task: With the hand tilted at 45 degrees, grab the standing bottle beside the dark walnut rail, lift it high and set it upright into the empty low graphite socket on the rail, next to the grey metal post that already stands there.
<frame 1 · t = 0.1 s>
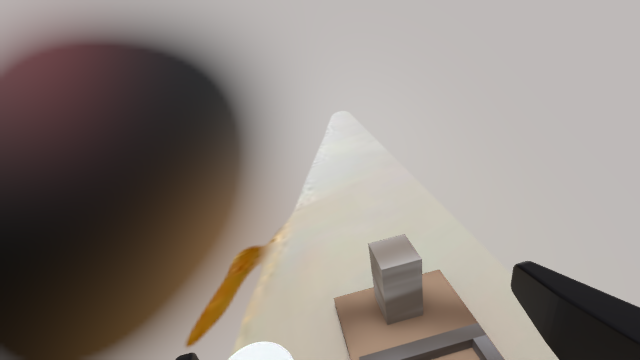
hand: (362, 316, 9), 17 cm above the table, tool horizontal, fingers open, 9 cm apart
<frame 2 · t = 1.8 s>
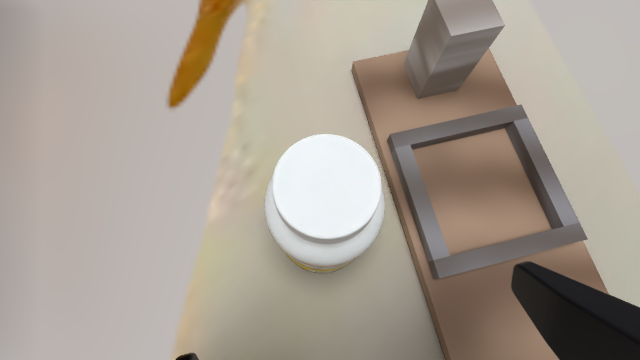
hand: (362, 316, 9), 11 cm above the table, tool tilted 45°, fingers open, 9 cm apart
supplement bottle: (322, 229, 21), on the table
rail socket: (469, 192, 22), on the table
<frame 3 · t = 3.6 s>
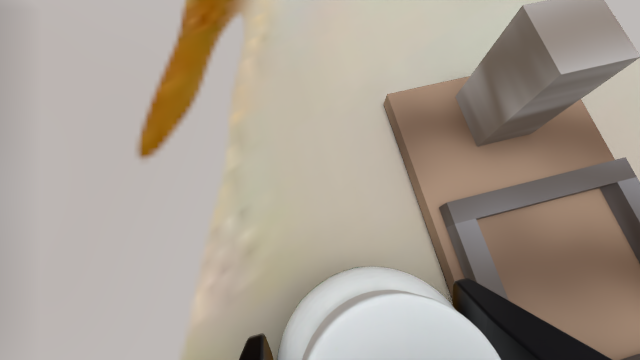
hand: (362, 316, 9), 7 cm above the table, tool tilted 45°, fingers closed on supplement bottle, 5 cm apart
supplement bottle: (351, 334, 15), on the table, touching gripper
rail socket: (552, 279, 16), on the table
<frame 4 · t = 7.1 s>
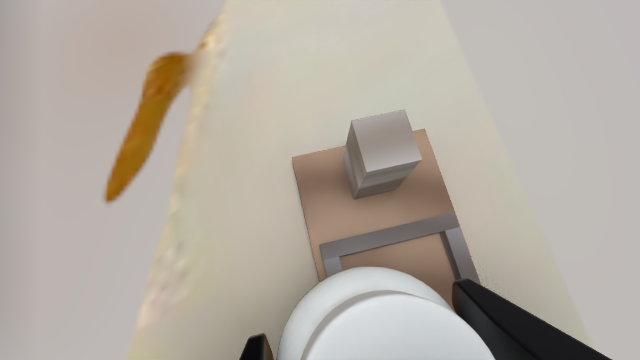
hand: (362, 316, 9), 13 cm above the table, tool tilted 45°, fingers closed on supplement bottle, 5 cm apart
supplement bottle: (349, 332, 15), point 6 cm above the table, touching gripper
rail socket: (401, 298, 22), on the table
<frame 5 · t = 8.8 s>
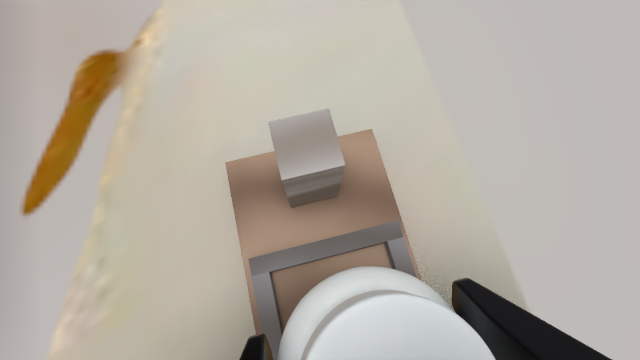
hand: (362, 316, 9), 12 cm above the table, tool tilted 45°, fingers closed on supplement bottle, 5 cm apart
supplement bottle: (350, 332, 15), point 5 cm above the table, touching gripper
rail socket: (342, 316, 20), on the table
when the fingers open (9 cm above the table, at t = 10.4 s): supplement bottle stays where it is, resting on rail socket.
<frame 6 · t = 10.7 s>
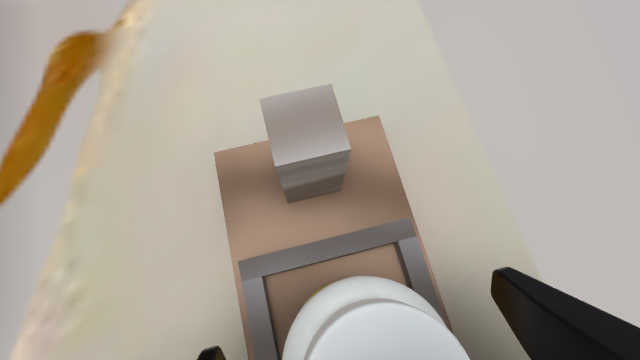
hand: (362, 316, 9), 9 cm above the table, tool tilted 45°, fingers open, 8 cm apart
supplement bottle: (348, 335, 16), point 1 cm above the table, touching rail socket
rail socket: (346, 327, 17), on the table
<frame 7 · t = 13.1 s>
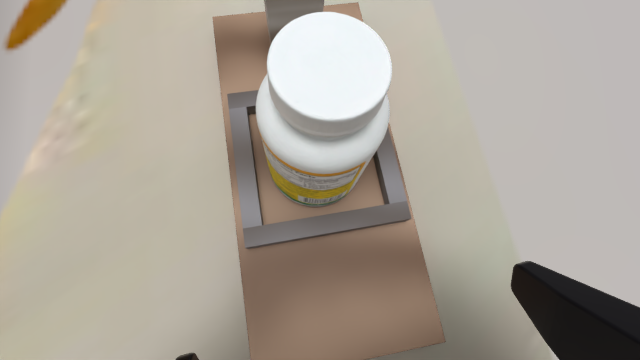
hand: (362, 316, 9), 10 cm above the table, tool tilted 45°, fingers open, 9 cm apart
supplement bottle: (315, 164, 20), point 1 cm above the table, touching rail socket
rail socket: (314, 165, 20), on the table
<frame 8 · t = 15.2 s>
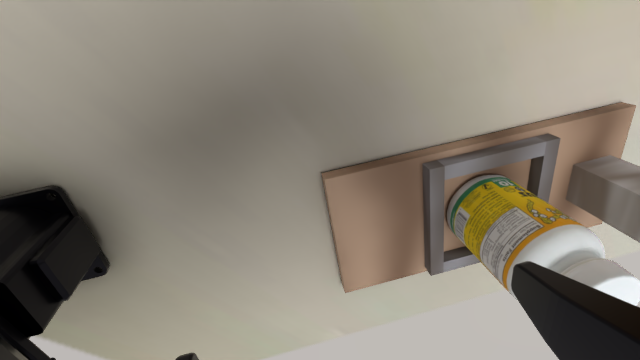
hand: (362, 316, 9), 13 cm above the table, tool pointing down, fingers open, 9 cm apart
supplement bottle: (477, 203, 24), point 1 cm above the table, touching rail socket
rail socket: (473, 198, 25), on the table
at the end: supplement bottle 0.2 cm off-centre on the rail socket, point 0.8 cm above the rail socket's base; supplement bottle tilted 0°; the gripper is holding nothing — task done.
